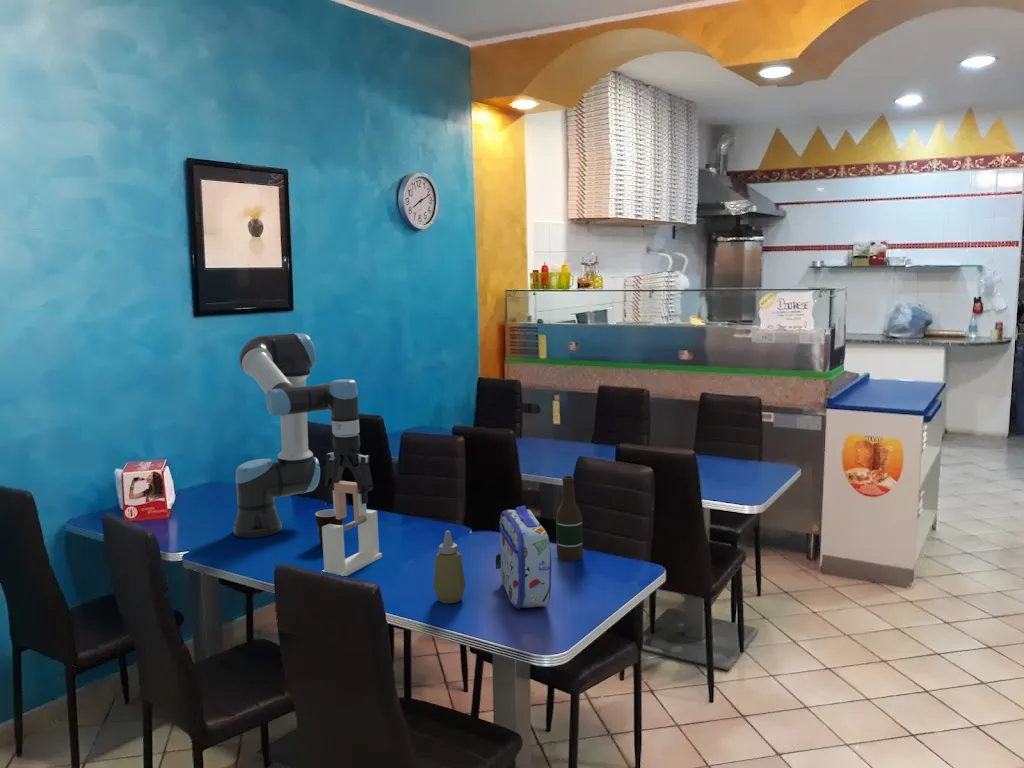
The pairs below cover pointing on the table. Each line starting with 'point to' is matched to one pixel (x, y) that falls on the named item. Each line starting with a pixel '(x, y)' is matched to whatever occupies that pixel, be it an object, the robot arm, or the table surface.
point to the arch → (340, 499)
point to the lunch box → (524, 559)
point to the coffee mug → (326, 521)
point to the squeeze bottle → (449, 572)
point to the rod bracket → (335, 545)
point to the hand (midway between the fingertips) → (350, 513)
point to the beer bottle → (569, 525)
